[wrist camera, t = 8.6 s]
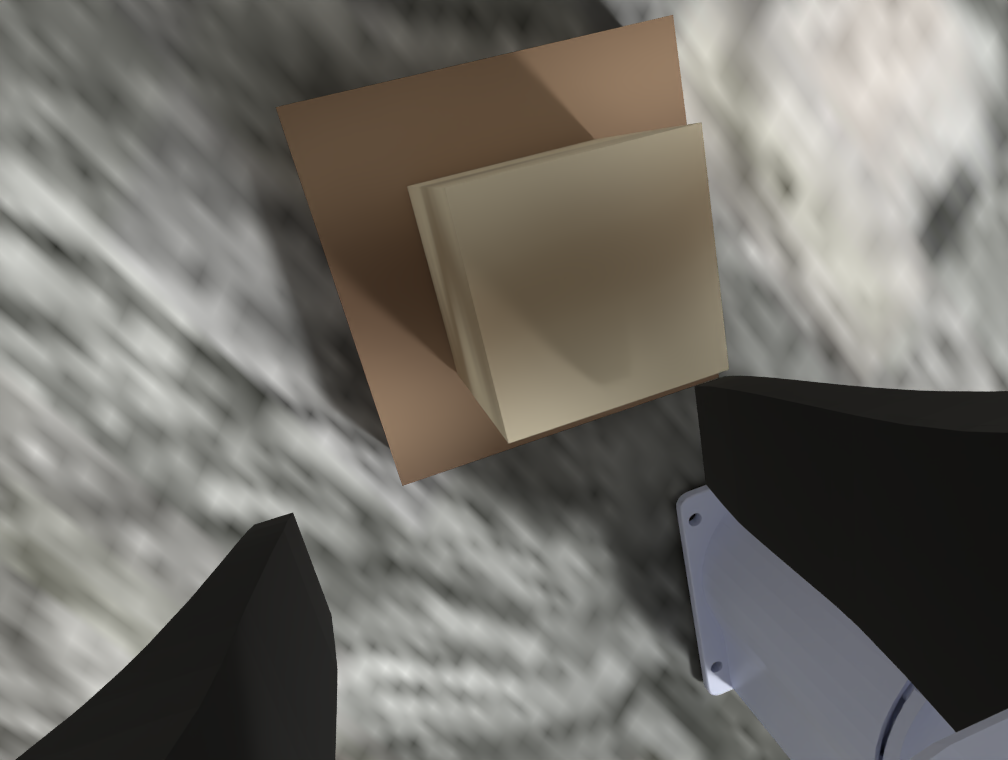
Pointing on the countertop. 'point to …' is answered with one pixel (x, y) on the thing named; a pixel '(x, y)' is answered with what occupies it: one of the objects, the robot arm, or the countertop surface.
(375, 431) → the countertop surface
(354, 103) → the walnut block
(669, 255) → the maple cube
